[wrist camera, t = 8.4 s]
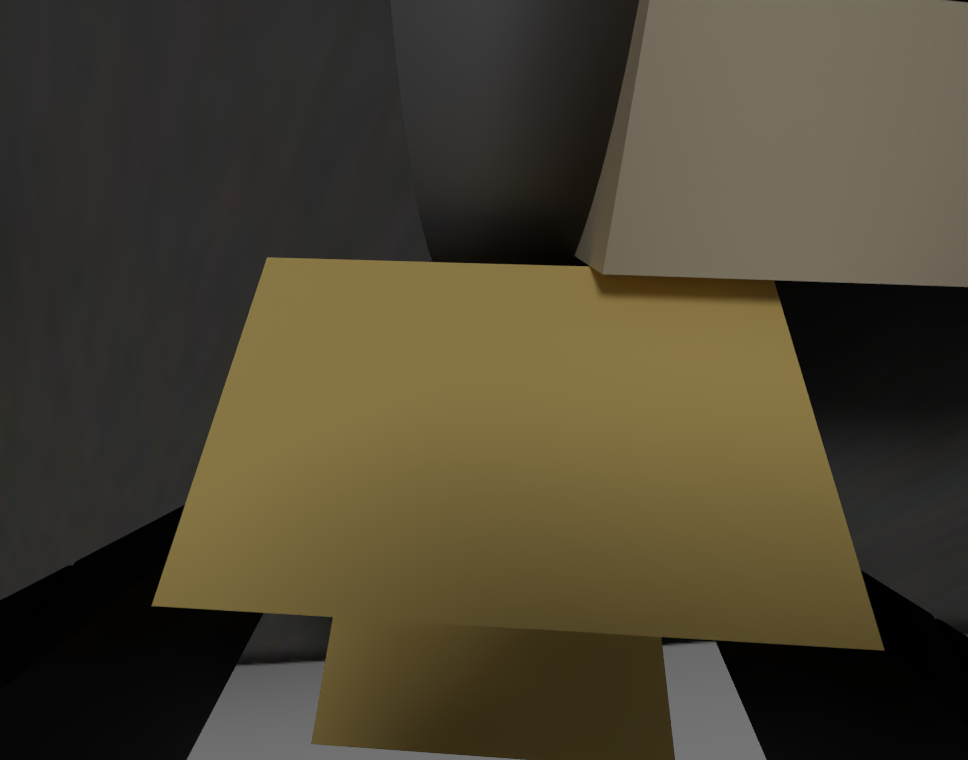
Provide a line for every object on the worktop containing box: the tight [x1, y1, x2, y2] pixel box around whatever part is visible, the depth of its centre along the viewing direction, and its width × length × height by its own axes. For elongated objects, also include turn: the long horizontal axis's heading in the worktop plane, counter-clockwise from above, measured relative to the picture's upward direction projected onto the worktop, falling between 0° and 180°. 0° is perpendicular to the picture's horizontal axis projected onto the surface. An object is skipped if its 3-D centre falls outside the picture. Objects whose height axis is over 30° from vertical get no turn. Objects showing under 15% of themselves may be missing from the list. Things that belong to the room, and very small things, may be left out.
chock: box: [152, 258, 885, 760], centre depth 6 cm, size 5×7×5 cm
